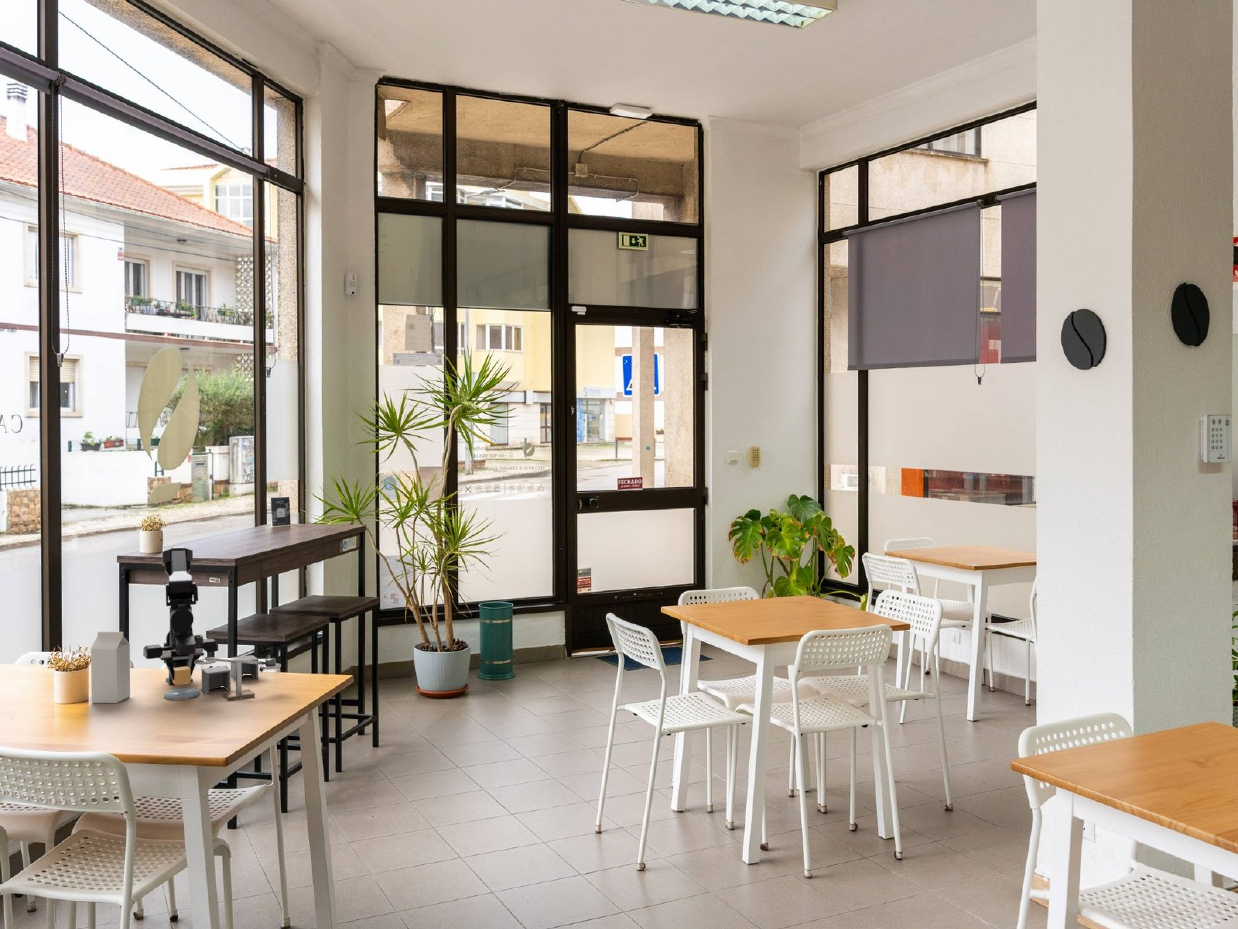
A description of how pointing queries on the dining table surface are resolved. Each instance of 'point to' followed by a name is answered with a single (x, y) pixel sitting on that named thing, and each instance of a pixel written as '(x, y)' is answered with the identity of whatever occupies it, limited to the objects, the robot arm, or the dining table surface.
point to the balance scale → (240, 674)
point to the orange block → (182, 675)
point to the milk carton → (110, 668)
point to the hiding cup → (245, 666)
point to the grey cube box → (216, 678)
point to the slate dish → (181, 693)
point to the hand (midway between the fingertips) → (181, 679)
